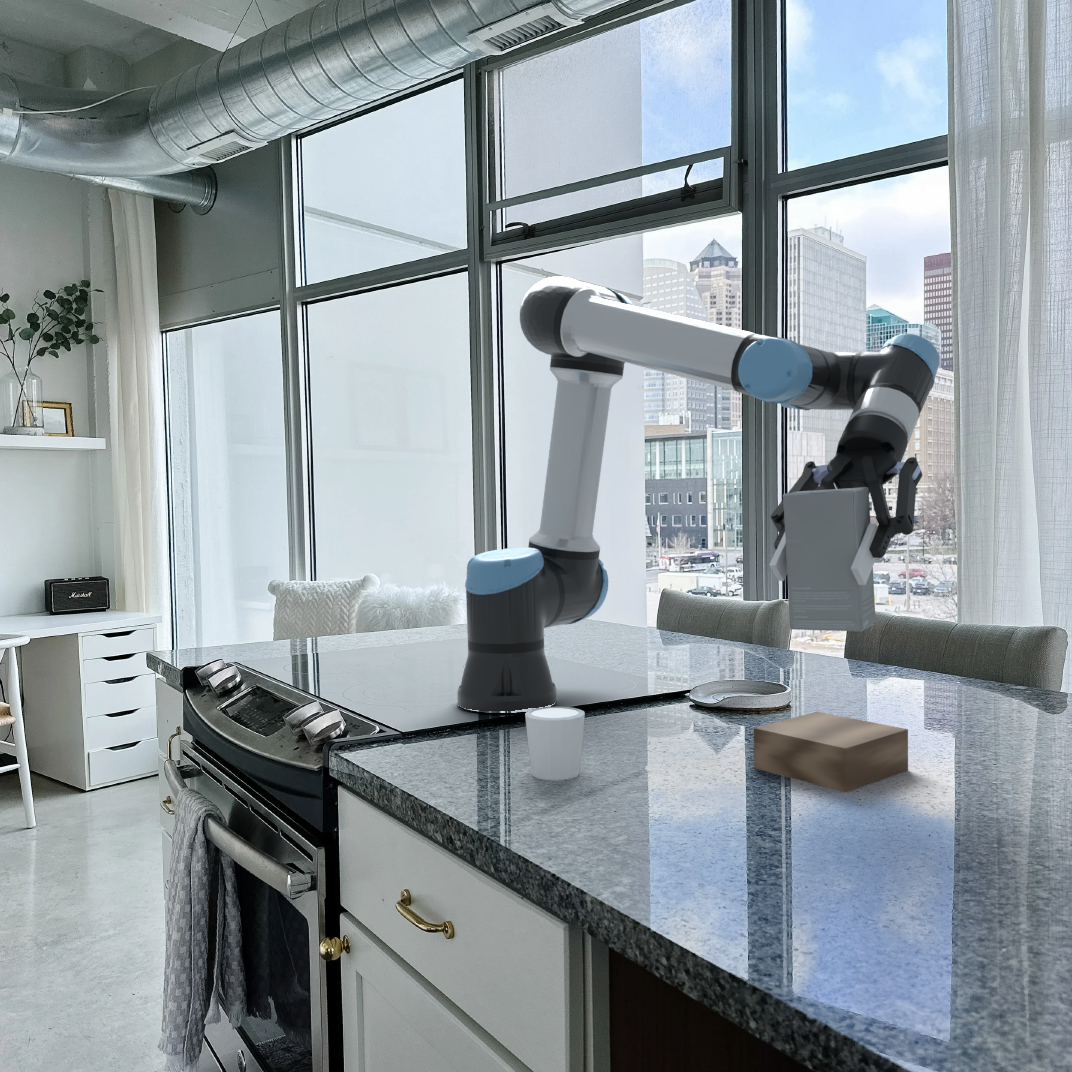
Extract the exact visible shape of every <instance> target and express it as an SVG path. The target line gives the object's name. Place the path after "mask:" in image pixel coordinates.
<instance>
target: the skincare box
mask: <svg viewBox="0 0 1072 1072" xmlns="http://www.w3.org/2000/svg"><path fill="white" fill-rule="evenodd" d="M782 500H783V505H784V520H785V536H786V558H787V575H786V577H787V591H788V596H787V597H788V611H789V612H788V613H789V626H790V627H789V628H790V630H797V631H798V630H799V631H800V630H801V631H803V630H804V631H831V632H837V631H839V632H840V631H841V632H863V631H865V630H867V629H868V628H870V627H872V626H874V625H875V622H876V606H875V605H876V603H875V587H874V586H875V585H874V584H875V583H874V566H873V567H872V570H871V572H870V575H869V577H868V580H867V582H866V585H859V584H858V582H857V580H856V578H855V576H854V574H853V572H852V570H851V566H852V564H853V562H854V559H855V557H856V554H857V552H858V549H859V547H860V545H861V542H862V540H863V537H864V535H865V532H866V530H867V528H868V525H869V524H871V511H870V510H871V509H870V508H871V507H870V505H871V504H870V493H869V489H868V488H867V487H861V488H846V489H837V488H836V489H830V490H815V491H798V492H793V493H788V492H787V493H783V494H782Z"/></svg>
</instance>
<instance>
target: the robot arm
mask: <svg viewBox="0 0 1072 1072" xmlns="http://www.w3.org/2000/svg"><path fill="white" fill-rule="evenodd" d="M519 323H520V328H521V331H522V334H523V335H524V337H525V338H526V340H527V342H528V343H530V345H531V346H532V347H533V348H535V350H538V351H539V352H542V353H544V354H545V355H549V356H550V363H549V371H550V372H551V373H552V375H553V376H554V377H555V379H556V381H557V385H556V393H555V400H554V401H555V402H554V408H553V417H552V424H551V425H552V427H551V434H550V442H549V450H548V460H547V467H546V468H547V469H546V476H545V484H544V491H543V492H544V493H543V501H542V509H541V517H540V524H539V528H538V530H537V531H536V532H535V533H534V534H533V535H532V536H530V537H529V539H528V546H527V547H508V548H503V549H494V550H489V551H486V552H485V551H484V552H481V553H478V554H476V555H474V556H473V557H471V558H470V559H469V561H467V565H466V580H465V583H464V587H465V594H466V595H465V596H466V599H465V600H466V620H467V621H466V623H467V624H466V628H467V630H466V631H467V657H466V662H465V666H464V669H463V674H462V678H461V682H460V684H459V686H458V688H457V692H456V693H457V696H456V697H457V706H458V705H459V706H461V707H463V708H466V709H472V710H480V711H515V710H522V709H528V708H539V707H545V706H548V705H552V704H554V703H555V702H556V701H558V698H557V697H558V695H557V694H558V692H557V691H558V690H557V686H556V684H555V682H553V679H552V675H551V674H552V673H551V670H550V666H549V663H548V660H547V656H546V654H545V629H546V628H551V627H558V626H561V625H562V626H563V625H572V624H576V623H578V622H580V621H584V620H585V619H588V618H589V617H592V616H593V615H594V614H595V613H597V612H598V611H599V609H600V608H601V607H602V606H603V604H604V602H605V601H606V597H607V594H608V591H609V576H608V572H607V570H606V569H605V567H604V563H603V562H602V560H601V559H600V552H601V546H600V545H599V544H598V542H597V541H596V540H595V538H594V535H593V532H594V526H595V525H594V524H595V518H596V508H597V502H598V496H599V495H598V493H599V486H600V480H601V479H600V478H601V471H602V464H603V456H604V447H605V442H606V432H607V425H608V419H609V418H608V417H609V410H610V401H611V395H612V388H613V387H614V386H615V385H616V384H617V383H619V382H620V381H621V380H622V379H623V376H624V369H625V364H626V363H627V364H631V365H635V366H639V367H642V368H647V369H651V370H654V371H658V372H660V373H665V374H669V375H673V376H676V377H680V378H684V379H688V380H691V381H696V382H699V383H702V384H703V383H704V384H707V385H710V386H715V387H717V388H722V389H726V390H730V391H734V392H737V393H740V394H743V395H747V396H749V397H750V396H751V397H753V398H755V399H756V400H759V401H761V402H766V403H769V404H776V405H778V404H779V405H781V407H783V408H786V409H787V408H788V409H796V410H800V411H801V410H803V411H811V410H821V411H822V410H823V411H824V410H826V411H827V410H828V411H829V410H831V411H833V410H835V411H838V410H839V411H846V410H847V411H849V410H851V413H850V416H849V418H848V420H847V423H846V426H845V427H844V430H843V431H842V434H841V436H840V438H839V441H838V443H837V447H836V452H835V456H834V457H833V458H832V459H831V460H830V461H829V462H828V463H827V464H823V465H822V464H821V465H816V464H815V461H813V460H812V461H811V460H809V461H808V462H805V465H804V466H803V469H802V473H801V475H800V477H799V478H798V479H797V480H796V482H795V483H794V484H793V486H791V488H790V490H789V491H788V492H787V493H793V492H798V491H815V490H830V489H846V488H861V487H867V488H868V489H869V495H870V498H871V501H872V506H873V510H874V514H875V519H876V521H877V523H870V524H869V525H868V528H867V530H866V532H865V535H864V537H863V540H862V542H861V545H860V547H859V549H858V552H857V554H856V557H855V559H854V562H853V564H852V566H851V570H852V572H853V574H854V576H855V578H856V580H857V582H858V584H859V585H866V582H867V580H868V577H869V575H870V572H871V570H872V567H873V568H874V566H875V565H874V564H875V562H876V560H877V559H882V558H883V557H884V556H885V555H886V553H887V550H888V548H889V546H890V543H891V540H892V539H893V538H895V536H896V535H897V534H902V535H905V536H908V535H911V534H912V533H913V532H914V526H915V525H914V524H915V510H916V497H917V495H916V494H917V486H918V484H919V482H920V481H921V479H922V478H923V472H922V470H921V467H920V465H919V461H918V460H917V458H916V457H914V456H911V457H908V458H907V459H906V460H905V461H903V457H904V456H905V453H906V451H907V447H908V445H909V442H910V440H911V437H912V435H913V432H914V430H915V428H916V426H917V423H918V421H919V418H920V416H921V412H922V411H923V408H924V405H925V403H926V401H927V399H928V396H929V394H930V391H932V389H933V388H934V385H935V381H936V376H937V373H938V369H939V366H940V356H939V353H938V352H939V351H938V350H937V348H936V347H935V345H933V343H932V342H930V341H929V340H928V339H926V338H925V337H923V336H920V335H917V334H914V333H900V334H898V335H895V336H893V337H891V338H889V339H887V340H886V341H885V343H884V344H883V345H882V346H881V348H880V349H879V350H878V351H858V352H855V351H854V352H853V351H851V352H849V351H848V352H845V351H827V350H822V349H818V348H815V347H812V346H807V345H804V344H802V343H797V342H796V341H795V340H791V339H787V338H784V337H779V336H773V337H772V336H768V335H764V334H759V333H754V332H751V331H747V330H742V329H737V328H733V327H728V326H725V325H720V324H716V323H710V322H706V321H703V320H698V319H693V318H688V317H685V316H681V315H676V314H675V315H674V314H670V313H667V312H663V311H658V310H653V309H650V308H649V309H648V308H644V307H640V306H635V305H634V303H633V302H632V301H631V300H630V299H629V298H628V297H627V296H625V295H624V294H622V293H619V292H617V291H616V290H614V289H611V288H610V287H603V286H600V285H596V284H592V283H589V282H585V281H580V280H578V279H574V278H571V277H567V276H551V277H550V276H549V277H547V278H544V279H542V280H540V281H538V282H537V283H535V284H534V285H532V287H531V288H529V290H527V292H526V293H525V295H524V297H523V299H522V302H521V304H520V310H519ZM902 461H903V462H902ZM897 475H898V483H897V494H896V495H897V496H896V506H895V516H893V517H891V513H890V509H889V506H888V502H887V499H886V498H887V496H886V493H885V490H884V485H885V484H886V483H888V482H890V480H892V479H894V478H895V477H896V476H897ZM770 519H771V521H772V523H773V525H774V527H775V529H776V530H777V532H778V534H777V536H776V538H775V541H774V542H773V547H774V549H775V552H774V553H773V556H772V559H771V560H770V562H769V565H768V566H769V568H770V569H771V571H772V573H773V575H774V577H775V578H776V579H777V581H780V582H784V581H785V579H786V577H787V558H786V536H785V520H784V505H783V499H782V500H781V501H780V503H779V504H778V505H777V506H776V508H775V509H774V511H773V512H772V513H771V514H770ZM877 524H878V525H877ZM459 706H458V707H459Z"/></svg>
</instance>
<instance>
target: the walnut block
mask: <svg viewBox="0 0 1072 1072" xmlns="http://www.w3.org/2000/svg"><path fill="white" fill-rule="evenodd" d="M753 768H754V769H756V770H759V771H763V772H766V773H771V774H775V775H778V776H783V777H786V778H789V779H793V780H796V781H801V782H804V783H809V784H812V785H816V786H820V787H823V788H828V789H831V790H835V791H839V792H843V793H848V792H852V791H854V790H856V789H860V788H862V787H865V786H869V785H870V784H874V783H877V782H879V781H880V782H881V781H882V780H885V779H889V778H891V777H894V776H896V775H899V774H902V773H905V772H908V771H909V730H908V728H905V727H904V728H903V727H898V726H893V725H889V724H888V725H887V724H884V723H883V724H882V723H878V722H872V721H867V720H861V719H857V718H851V717H848V716H847V717H846V716H843V715H835V714H830V713H825V712H819V711H813V712H811V713H807V714H802V715H798V716H795V717H792V718H791V717H790V718H788V719H784V720H780V721H776V722H772V723H768V724H764V725H760V726H757V727H753Z"/></svg>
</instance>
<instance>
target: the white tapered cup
mask: <svg viewBox="0 0 1072 1072" xmlns="http://www.w3.org/2000/svg"><path fill="white" fill-rule="evenodd" d="M524 714H525V715H524V716H525V726H526V734H527V735H526V736H527V744H528V752H529V761H530V768H531V769H530V771H531V776H533V777H534V778H536V779H539V780H544V781H545V780H546V781H565V779H566V780H571V779H574V778H573V777H575V778H577V777H579V776H580V775H581V770H582V759H583V757H582V756H583V742H584V730H585V729H584V728H585V718H586V717H585V715H586V714H585V711H584V710H582V709H579V708H576V707H569V706H552V707H543V708H536V709H532V710H529V711H527V712H526V713H524ZM579 774H580V775H579ZM578 775H579V776H578ZM570 778H571V779H570Z"/></svg>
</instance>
